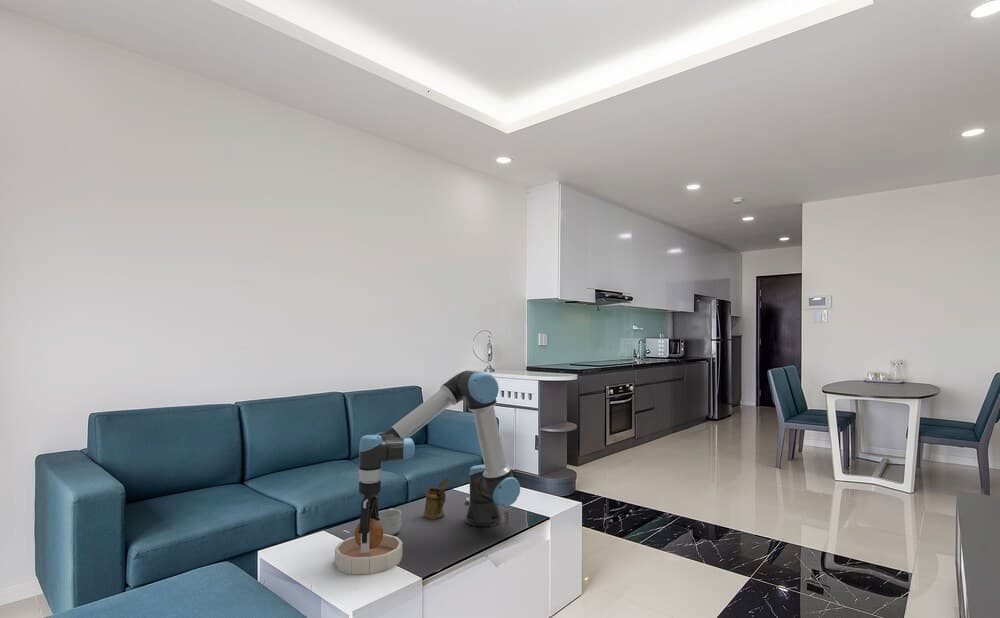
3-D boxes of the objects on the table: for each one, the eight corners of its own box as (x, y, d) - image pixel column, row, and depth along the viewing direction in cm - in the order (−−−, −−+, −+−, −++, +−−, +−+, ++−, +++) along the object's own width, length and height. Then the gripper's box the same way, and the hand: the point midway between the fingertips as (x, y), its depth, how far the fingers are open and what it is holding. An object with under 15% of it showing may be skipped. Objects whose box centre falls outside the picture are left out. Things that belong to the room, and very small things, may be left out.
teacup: (394, 539, 202) (395, 518, 203) (368, 537, 204) (368, 516, 205) (408, 527, 216) (408, 507, 216) (383, 525, 218) (383, 505, 218)
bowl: (406, 547, 194) (406, 533, 194) (394, 574, 172) (394, 558, 172) (346, 547, 194) (346, 533, 194) (326, 574, 172) (326, 558, 172)
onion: (385, 542, 189) (385, 513, 189) (380, 553, 179) (380, 523, 179) (357, 543, 188) (358, 514, 189) (351, 554, 178) (351, 523, 179)
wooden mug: (440, 523, 220) (440, 479, 221) (419, 516, 229) (419, 474, 230) (455, 517, 227) (456, 475, 228) (434, 511, 236) (434, 470, 237)
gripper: (367, 472, 196) (366, 534, 195) (349, 489, 173) (348, 559, 172) (387, 472, 196) (387, 534, 195) (372, 489, 173) (371, 559, 172)
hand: (369, 546), depth 183 cm, fingers closed on onion, 10 cm apart
